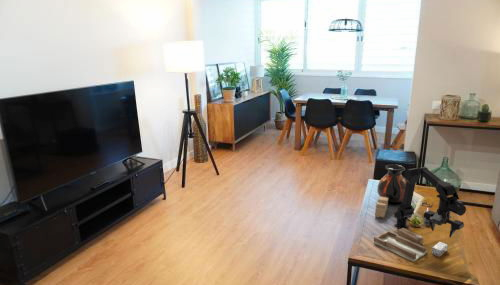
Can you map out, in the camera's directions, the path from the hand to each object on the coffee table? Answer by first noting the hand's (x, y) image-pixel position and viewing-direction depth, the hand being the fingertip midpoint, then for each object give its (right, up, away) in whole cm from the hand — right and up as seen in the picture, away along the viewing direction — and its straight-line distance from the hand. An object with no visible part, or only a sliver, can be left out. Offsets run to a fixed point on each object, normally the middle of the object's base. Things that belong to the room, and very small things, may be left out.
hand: (441, 234), depth 187 cm
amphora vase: (0, +5, +65) cm, 65 cm away
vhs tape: (+24, +4, +62) cm, 67 cm away
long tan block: (-10, -8, +15) cm, 20 cm away
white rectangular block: (0, -11, +3) cm, 11 cm away
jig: (-19, -10, +8) cm, 23 cm away
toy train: (-14, 0, +48) cm, 50 cm away
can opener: (+13, -1, +39) cm, 41 cm away
